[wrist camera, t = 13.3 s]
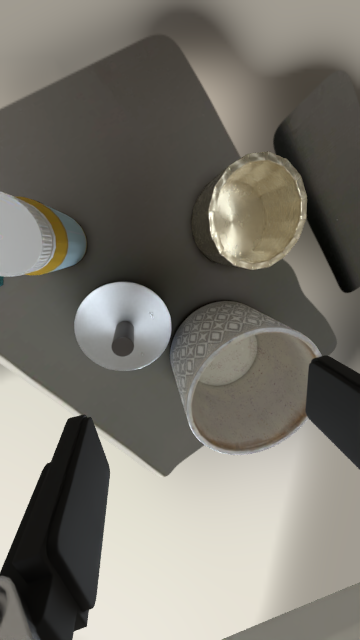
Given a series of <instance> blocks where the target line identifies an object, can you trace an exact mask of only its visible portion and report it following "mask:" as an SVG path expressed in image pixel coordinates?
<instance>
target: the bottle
mask: <svg viewBox="0 0 360 640" xmlns="http://www.w3.org/2000/svg"><path fill="white" fill-rule="evenodd" d="M86 249H87V240H86V235H85V233H84V231H83V229H82V228H81V226H80V225H79V224H78V223H77V222H76V221H75V220H74V219H72V218H71V217H69V216H68V215H65V214H63V213H61V212H59V211H57V210H55V209H53V208H51V207H48V206H46V205H44V204H42V203H40V202H38V201H35V200H32V199H28V198H25V197H14V196H11V195H9V194H6V193H4V192H0V276H5V277H8V276H10V277H12V276H18V275H23V274H26V275H41V274H46V273H49V272H53V271H56V270H60V269H63V268H67V267H70V266H73V265H75V264H77V263H78V262H79V261H80V260H82V258H83V257H84V255H85V253H86Z"/></svg>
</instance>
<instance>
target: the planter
mask: <svg viewBox="0 0 360 640" xmlns="http://www.w3.org/2000/svg"><path fill="white" fill-rule="evenodd" d="M317 357H321V353H320V352H319V350H318V348H317V347H316V345H315V344H314V343H313V342H312V341H311V340H310V339H309V338H308V337H306V336H305V335H303V334H301V333H300V332H298V331H296V330H294V329H292V328H290V327H288V326H286V325H284V324H282V323H280V322H278V321H277V320H275V319H273V318H271V317H269V316H267V315H265V314H263V313H261V312H259V311H257V310H255V309H253V308H251V307H249V306H247V305H245V304H242V303H239V302H234V301H220V302H215V303H211V304H208V305H206V306H203V307H201V308H199V309H198V310H196V311H195V312H193V313H192V314H191V315H190V316H189V317H187V318H186V319H185V321H184V322H183V323H182V324H181V325H180V327H179V328H178V330H177V332H176V334H175V336H174V338H173V341H172V345H171V350H170V361H171V366H172V370H173V373H174V376H175V380H176V383H177V386H178V390H179V393H180V396H181V400H182V403H183V406H184V409H185V413H186V416H187V419H188V423H189V426H190V428H191V430H192V431H193V433H194V435H195V436H196V437H197V438H198V440H199V441H201V442H202V443H203V444H204V445H205V446H207V447H209V448H211V449H213V450H215V451H218V452H221V453H225V454H231V455H244V454H252V453H256V452H260V451H263V450H266V449H269V448H271V447H273V446H275V445H277V444H279V443H281V442H282V441H284V440H285V439H287V438H289V437H290V436H291V435H292V434H294V433H295V432H296V431H297V430H298V429H299V428H300V427H301V426H302V425H303V424H304V423H305V422H306V421H307V420H308V417H307V415H306V412H305V408H306V395H307V382H308V369H309V364H310V363H311V360H312V359H314V358H317Z"/></svg>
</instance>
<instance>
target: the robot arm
mask: <svg viewBox="0 0 360 640" xmlns="http://www.w3.org/2000/svg"><path fill="white" fill-rule="evenodd" d="M305 412H306V415H307V417H308V418H309V419H310V420H311V421H312V422H313V423H314V424H315V425H316V426H317V427H318V428H319V429H320V430H321V431H322V432H323V433H324V434H325V435H326V436H327V437H328V438H329V439H330V440H331V441H332V442H333V443H334V444H335V445H336V446H337V447H338V448H339V449H340V450H341V451H342V452H343V453H344V454H345V455H346V456H347V457H348V458H349V459H350V460H351V461H352V462H353V463H354V464H355V465H356V466H357V467H358V468H359V469H360V374H359V373H357V372H355V371H354V370H352V369H350V368H348V367H347V366H345V365H343V364H341V363H340V362H338V361H336V360H335V359H333V358H331V357H329V356H321V357H317V358H314V359H312V360H311V363H310V364H309V369H308V382H307V395H306V408H305ZM109 478H110V469H109V464H108V462H107V459H106V456H105V453H104V451H103V448H102V445H101V442H100V440H99V437H98V434H97V431H96V428H95V426H94V423H93V420H92V418H91V417H89V418H87V417H86V415H80V416H76V417H72V418H69V419H68V420H67V422H66V425H65V427H64V430H63V432H62V435H61V438H60V440H59V443H58V445H57V448H56V450H55V453H54V456H53V458H52V461H51V462H50V463H47V464H46V466H45V467H44V469H43V471H42V473H41V475H40V478H39V480H38V482H37V485H36V487H35V490H34V492H33V495H32V497H31V499H30V502H29V504H28V507H27V509H26V511H25V514H24V516H23V519H22V521H21V524H20V526H19V528H18V531H17V533H16V536H15V538H14V541H13V543H12V545H11V548H10V550H9V553H8V555H7V558H6V560H5V562H4V565H3V567H2V570H1V572H0V640H72V638H73V632H74V631H76V630H79V629H81V628H84V627H86V626H87V620H88V612H89V609H92V608H93V607H94V605H95V601H96V595H97V585H98V577H99V568H100V559H101V550H102V541H103V532H104V523H105V514H106V505H107V495H108V487H109ZM222 640H360V583H357V584H355V585H352V586H350V587H348V588H345V589H343V590H340V591H338V592H335V593H333V594H331V595H328V596H326V597H324V598H321V599H318V600H316V601H314V602H311V603H309V604H306V605H304V606H302V607H299V608H297V609H294V610H292V611H289V612H287V613H285V614H282V615H280V616H277V617H275V618H272V619H270V620H268V621H265V622H263V623H260V624H258V625H256V626H253V627H251V628H249V629H246V630H244V631H241V632H239V633H236V634H234V635H232V636H229V637H227V638H224V639H222Z"/></svg>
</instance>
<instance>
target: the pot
mask: <svg viewBox="0 0 360 640" xmlns="http://www.w3.org/2000/svg"><path fill="white" fill-rule="evenodd" d="M306 210H307V195H306V192H305V188H304V185H303V182H302V178H301V175H300V174H299V173H298V172H297V171H296V169H295V168H294V167H293V166H292V165H291V163H290V162H289V161H288V160H287V159H285V158H282V157H280V156H277V155H275V154H273V153H270V152H262V153H253V154H247V155H245V156H244V157H242V158H240V159H239V160H237V161H236V162H234V163H233V164H231V165H230V166H228V167H227V168H226V169H225V170H224V171H223V172H221V173H220V174H219V175H218V176H217V177H216V178H215V179H213V180H212V181H211V182H210V183H209V184H208V185H207V186H206V187H205V188H204V190H203V191H202V192H201V194H200V195H199V197H198V199H197V200H196V203H195V205H194V209H193V213H192V222H191V223H192V233H193V237H194V240H195V242H196V244H197V246H198V248H199V249H200V251H201V252H202V253H203V254H204V255H205V256H206V257H207V258H209V259H210V260H212V261H213V262H216V263H219V264H224V265H228V266H233V267H238V268H243V269H248V270H256V269H261V268H266V267H270V266H272V265H273V264H275V263H276V262H278V261H279V260H281V259H282V258H284V257H285V256H286V255H287V254H288V253H289V252H290V250H291V249H292V248H293V246H294V245H295V244H296V243H297V241H298V240H299V237H300V235H301V232H302V229H303V226H304V224H305V221H306Z"/></svg>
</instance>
